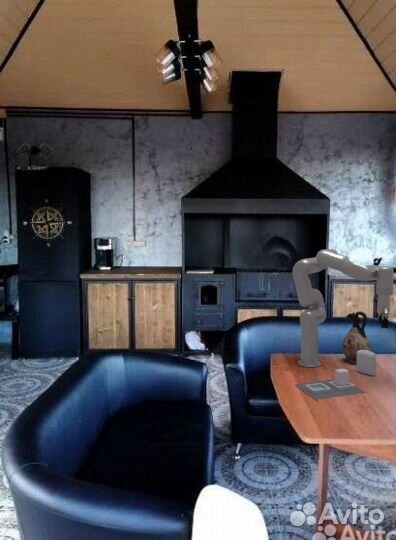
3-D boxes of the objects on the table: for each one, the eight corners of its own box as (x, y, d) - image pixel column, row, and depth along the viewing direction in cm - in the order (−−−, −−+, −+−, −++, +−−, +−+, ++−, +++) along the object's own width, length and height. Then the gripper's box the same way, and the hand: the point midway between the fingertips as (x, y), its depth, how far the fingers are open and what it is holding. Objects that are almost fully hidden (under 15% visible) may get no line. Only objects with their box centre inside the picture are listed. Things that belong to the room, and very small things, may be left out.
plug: (334, 385, 209) (334, 369, 209) (344, 384, 211) (345, 368, 210) (339, 388, 206) (339, 372, 205) (350, 387, 207) (350, 371, 206)
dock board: (294, 386, 212) (294, 381, 212) (340, 380, 220) (340, 375, 219) (317, 401, 193) (317, 396, 193) (366, 394, 201) (366, 389, 200)
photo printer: (354, 371, 232) (355, 349, 231) (359, 370, 235) (359, 347, 234) (373, 376, 224) (373, 353, 223) (377, 374, 227) (377, 351, 226)
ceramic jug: (336, 361, 251) (337, 310, 248) (351, 356, 261) (353, 306, 258) (362, 368, 238) (364, 314, 235) (378, 362, 247) (379, 311, 244)
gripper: (374, 288, 223) (373, 321, 224) (378, 293, 206) (377, 329, 208) (390, 289, 221) (389, 322, 222) (395, 294, 204) (394, 330, 206)
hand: (383, 325), depth 215 cm, fingers open, 9 cm apart
